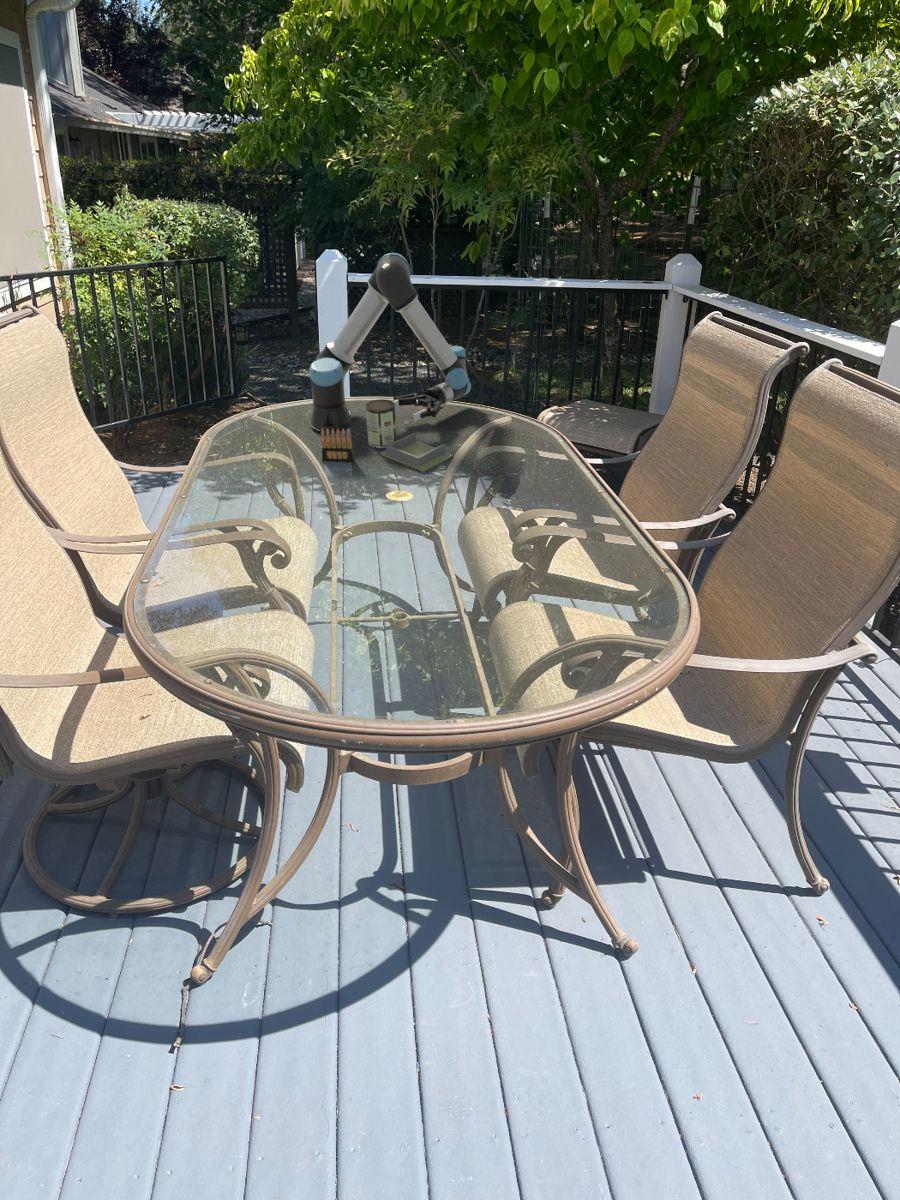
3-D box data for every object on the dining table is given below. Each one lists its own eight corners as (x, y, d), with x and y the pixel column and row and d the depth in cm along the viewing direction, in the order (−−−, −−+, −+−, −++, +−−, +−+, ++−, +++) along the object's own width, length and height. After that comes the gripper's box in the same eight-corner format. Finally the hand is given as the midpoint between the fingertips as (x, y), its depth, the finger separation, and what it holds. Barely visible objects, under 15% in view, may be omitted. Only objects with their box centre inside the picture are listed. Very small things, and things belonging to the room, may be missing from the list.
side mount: (380, 455, 305) (379, 444, 303) (410, 441, 314) (409, 430, 312) (423, 471, 294) (422, 460, 292) (452, 456, 304) (452, 446, 301)
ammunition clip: (322, 461, 301) (319, 429, 294) (323, 459, 303) (320, 426, 296) (353, 462, 301) (350, 429, 294) (354, 460, 302) (351, 427, 295)
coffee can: (379, 434, 320) (376, 397, 312) (402, 440, 315) (400, 402, 307) (361, 444, 313) (359, 406, 305) (385, 450, 308) (383, 412, 300)
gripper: (464, 413, 324) (425, 432, 310) (414, 397, 337) (375, 414, 324) (464, 394, 319) (425, 412, 306) (413, 378, 333) (373, 395, 319)
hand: (399, 413), depth 315 cm, fingers open, 13 cm apart
